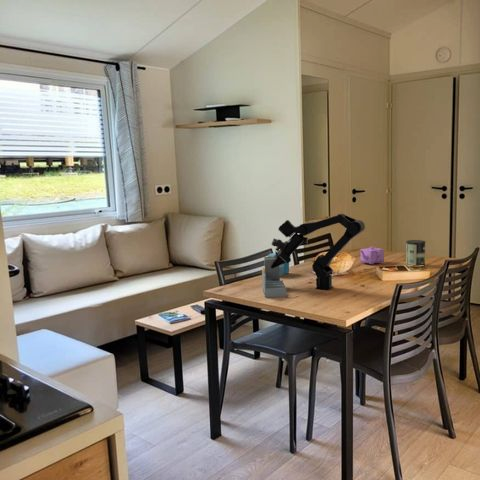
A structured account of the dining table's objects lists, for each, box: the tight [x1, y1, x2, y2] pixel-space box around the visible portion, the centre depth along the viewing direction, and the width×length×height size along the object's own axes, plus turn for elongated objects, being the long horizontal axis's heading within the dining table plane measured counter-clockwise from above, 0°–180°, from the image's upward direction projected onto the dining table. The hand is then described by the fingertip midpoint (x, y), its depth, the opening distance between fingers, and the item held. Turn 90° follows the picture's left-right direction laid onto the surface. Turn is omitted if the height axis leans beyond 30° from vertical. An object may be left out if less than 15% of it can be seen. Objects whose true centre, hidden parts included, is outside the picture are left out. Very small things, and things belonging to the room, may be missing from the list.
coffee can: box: [405, 239, 426, 266], centre depth 291 cm, size 10×10×14 cm
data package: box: [267, 252, 290, 276], centre depth 281 cm, size 12×4×12 cm, turn 133°
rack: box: [261, 267, 288, 298], centre depth 241 cm, size 10×16×12 cm, turn 1°
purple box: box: [359, 245, 385, 265], centre depth 303 cm, size 18×14×10 cm
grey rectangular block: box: [263, 256, 281, 281], centre depth 253 cm, size 7×3×12 cm, turn 91°
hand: (271, 267), depth 253 cm, fingers closed on grey rectangular block, 3 cm apart
